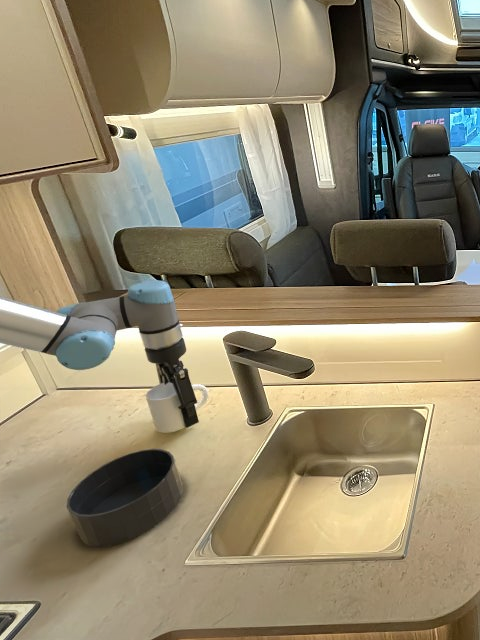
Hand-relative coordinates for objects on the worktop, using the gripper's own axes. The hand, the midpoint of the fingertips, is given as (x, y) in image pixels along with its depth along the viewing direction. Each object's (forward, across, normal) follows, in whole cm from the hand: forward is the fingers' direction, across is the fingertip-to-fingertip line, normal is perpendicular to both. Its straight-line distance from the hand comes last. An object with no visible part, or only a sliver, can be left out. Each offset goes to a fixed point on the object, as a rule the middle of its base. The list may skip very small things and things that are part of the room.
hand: (184, 417), depth 108 cm
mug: (+1, 0, 0) cm, 1 cm away
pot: (+2, -20, +17) cm, 26 cm away
